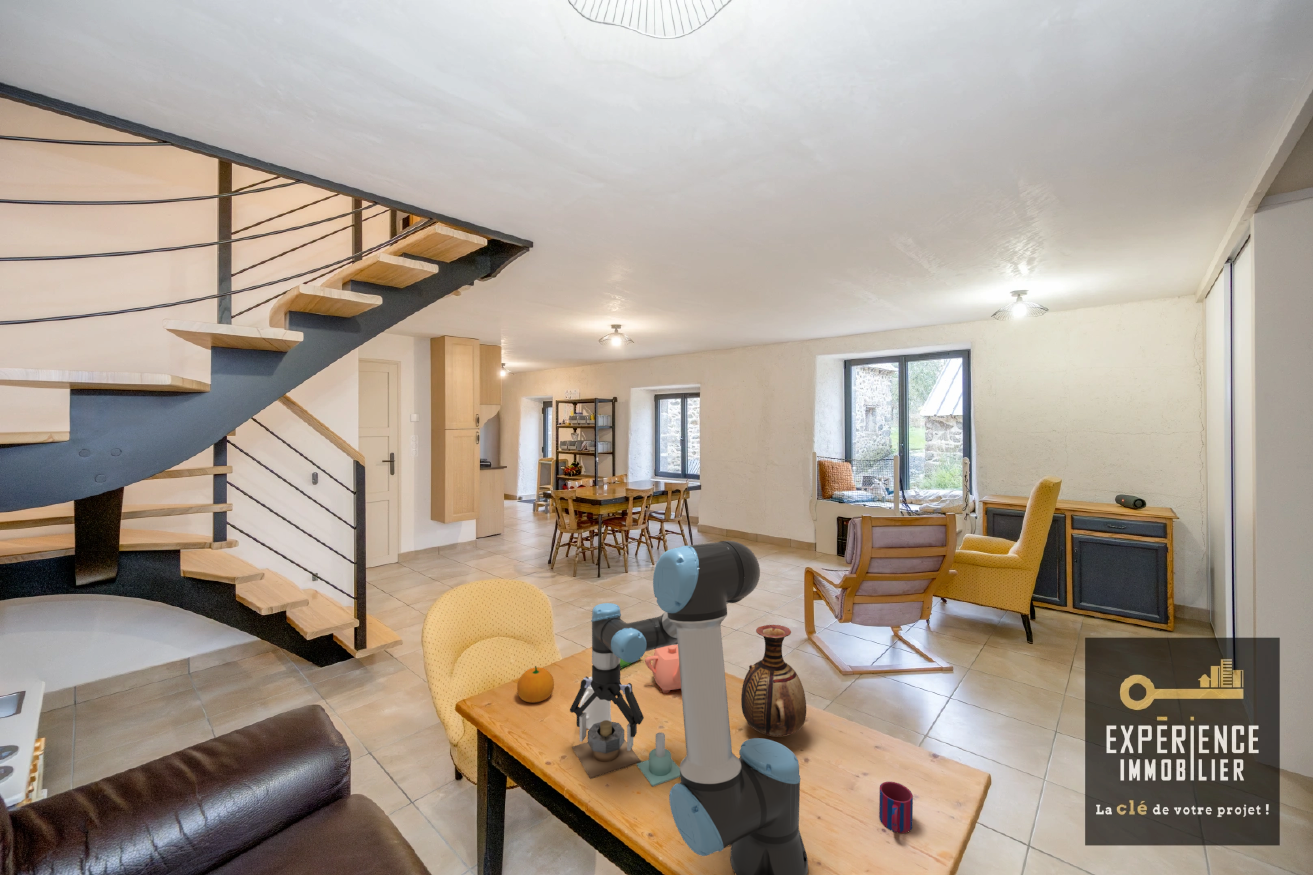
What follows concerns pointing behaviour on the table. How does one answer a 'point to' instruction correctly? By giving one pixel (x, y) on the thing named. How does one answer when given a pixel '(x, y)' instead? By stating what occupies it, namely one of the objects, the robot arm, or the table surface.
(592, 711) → the mug
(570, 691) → the table surface
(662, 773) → the stand
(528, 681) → the fruit
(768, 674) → the vase
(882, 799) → the cup
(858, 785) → the table surface
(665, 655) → the teapot
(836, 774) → the table surface
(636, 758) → the hub
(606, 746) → the clutch ring
